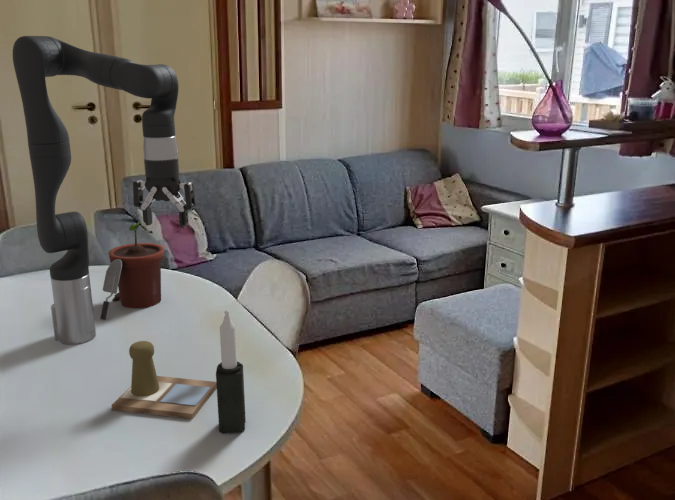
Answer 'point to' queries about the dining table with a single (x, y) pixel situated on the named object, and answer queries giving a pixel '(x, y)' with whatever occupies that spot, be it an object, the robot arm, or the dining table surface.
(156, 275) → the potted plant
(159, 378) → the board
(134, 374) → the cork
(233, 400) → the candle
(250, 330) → the dining table surface
